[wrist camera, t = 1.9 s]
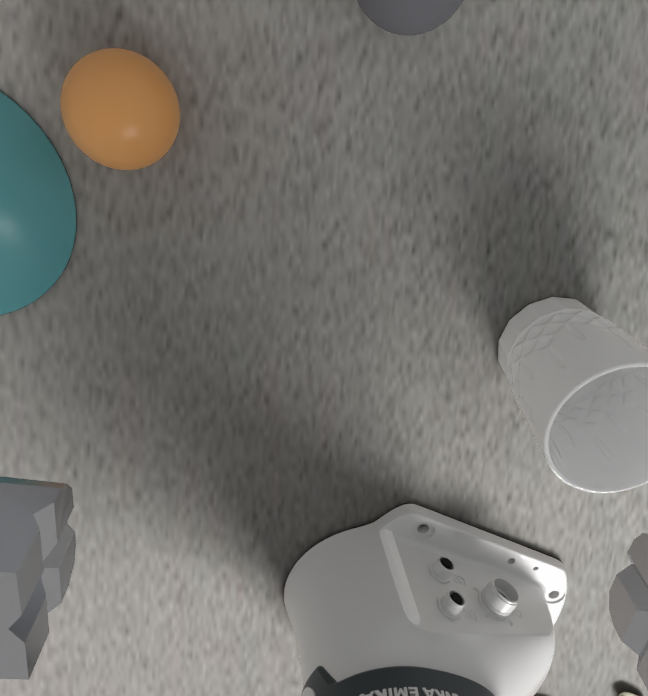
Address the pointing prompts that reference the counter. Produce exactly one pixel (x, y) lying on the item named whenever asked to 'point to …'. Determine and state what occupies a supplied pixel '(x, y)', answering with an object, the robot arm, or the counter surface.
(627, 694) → the decorative turtle
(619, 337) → the white cup
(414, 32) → the dark gray ball
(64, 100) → the object ball
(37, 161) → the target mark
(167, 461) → the counter surface
